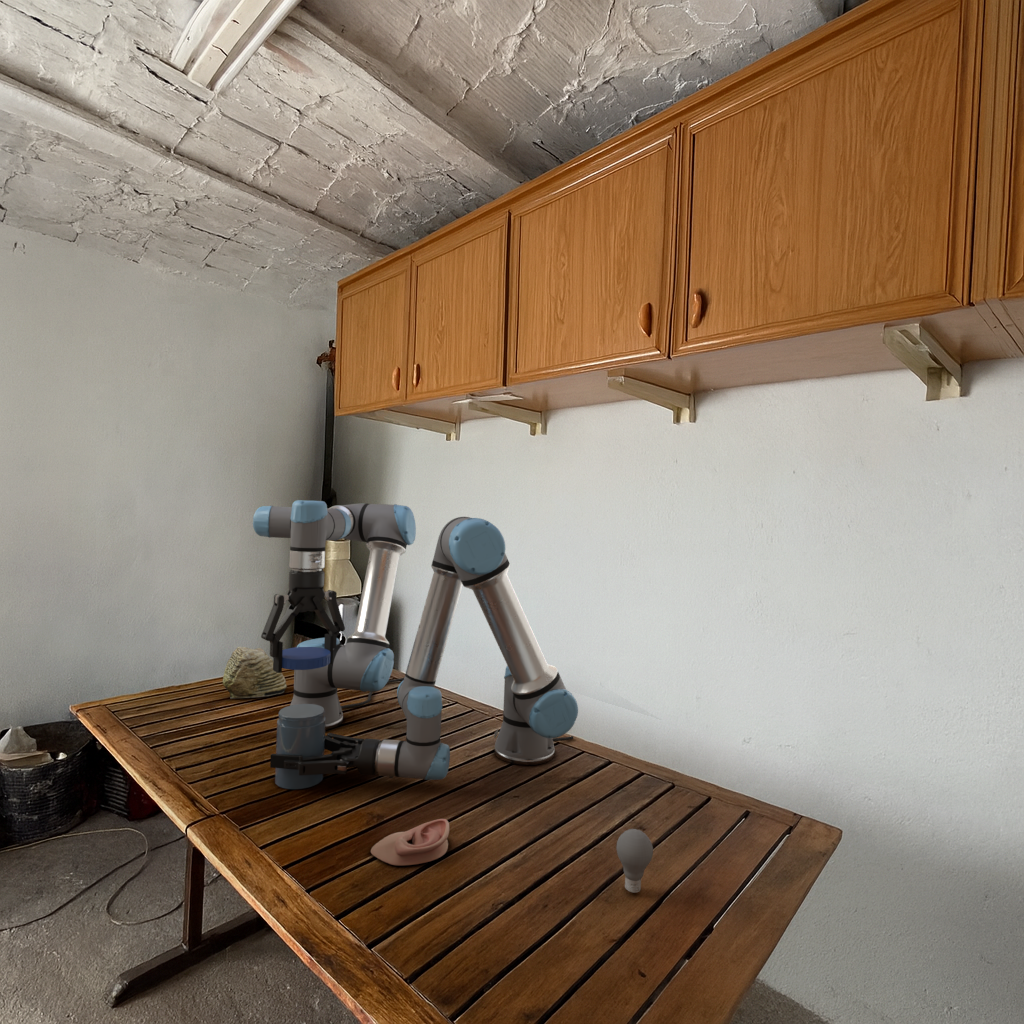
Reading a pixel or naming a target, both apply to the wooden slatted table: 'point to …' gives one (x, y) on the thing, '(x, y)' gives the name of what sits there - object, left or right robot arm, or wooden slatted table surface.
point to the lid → (305, 658)
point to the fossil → (252, 674)
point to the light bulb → (634, 857)
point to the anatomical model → (414, 844)
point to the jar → (300, 742)
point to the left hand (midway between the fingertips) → (303, 667)
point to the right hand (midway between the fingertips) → (282, 750)
